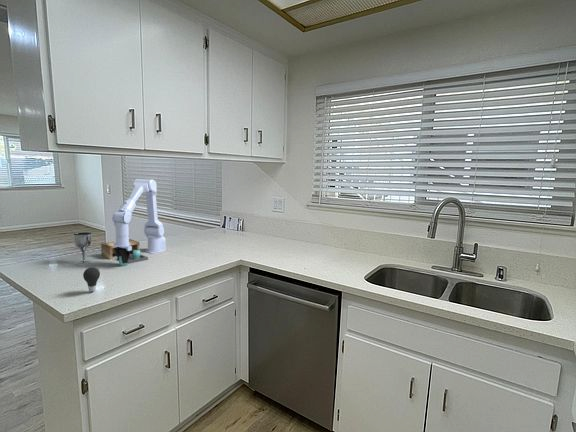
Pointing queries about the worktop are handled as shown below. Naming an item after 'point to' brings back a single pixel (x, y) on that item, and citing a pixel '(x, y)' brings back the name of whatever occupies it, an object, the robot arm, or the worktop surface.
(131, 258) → the tray
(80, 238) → the wine glass
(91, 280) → the light bulb
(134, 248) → the shelf
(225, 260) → the worktop surface
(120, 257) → the teal rounded capsule
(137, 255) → the teal rounded cylinder
